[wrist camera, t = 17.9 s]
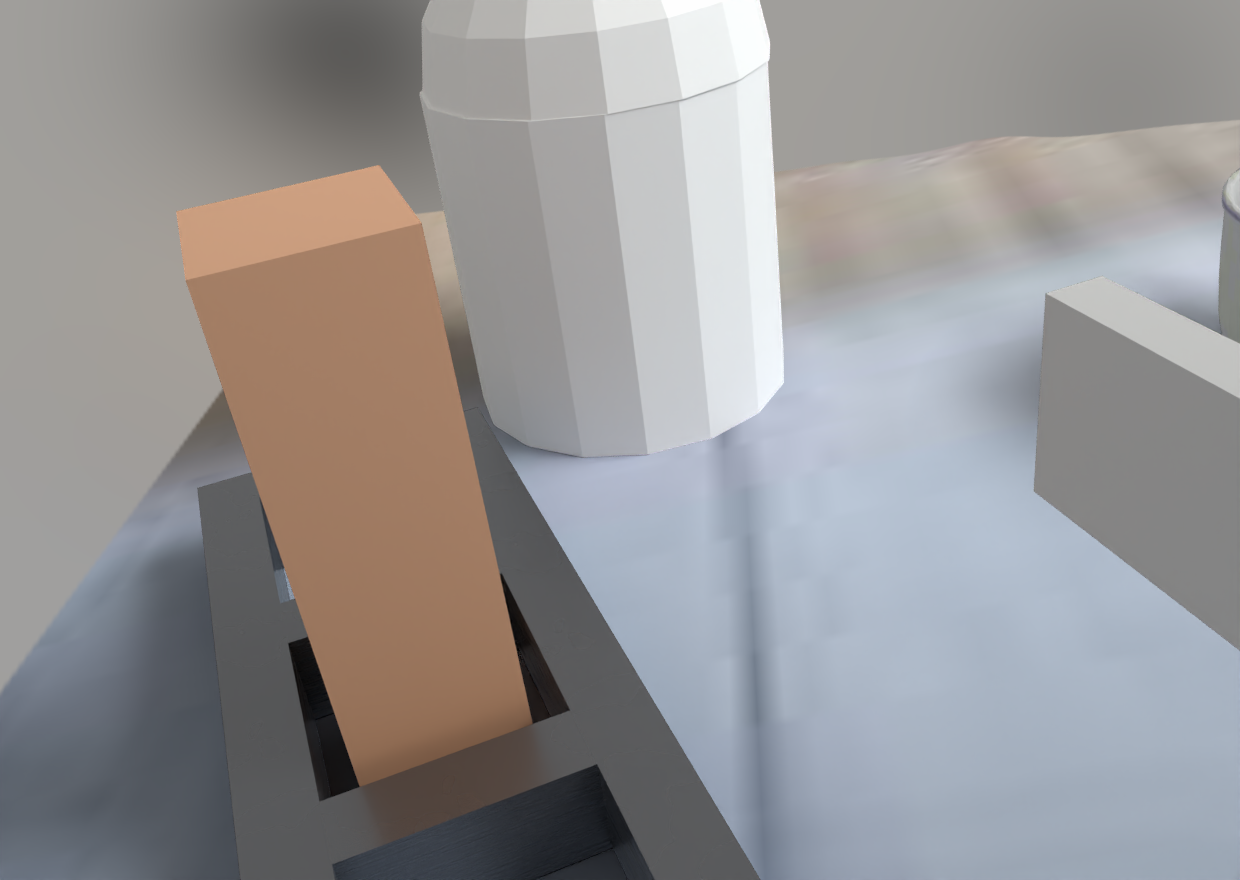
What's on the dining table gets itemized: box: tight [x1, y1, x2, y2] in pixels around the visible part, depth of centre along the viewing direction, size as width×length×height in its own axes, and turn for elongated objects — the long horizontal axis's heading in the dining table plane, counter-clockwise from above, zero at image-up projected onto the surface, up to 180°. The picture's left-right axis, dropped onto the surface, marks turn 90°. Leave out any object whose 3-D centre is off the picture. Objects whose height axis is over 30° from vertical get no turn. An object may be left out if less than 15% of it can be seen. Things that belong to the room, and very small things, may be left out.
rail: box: [197, 407, 760, 880], centre depth 32 cm, size 10×27×3 cm, turn 21°
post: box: [177, 165, 533, 787], centre depth 28 cm, size 5×5×16 cm
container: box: [419, 0, 783, 457], centre depth 45 cm, size 14×13×20 cm
